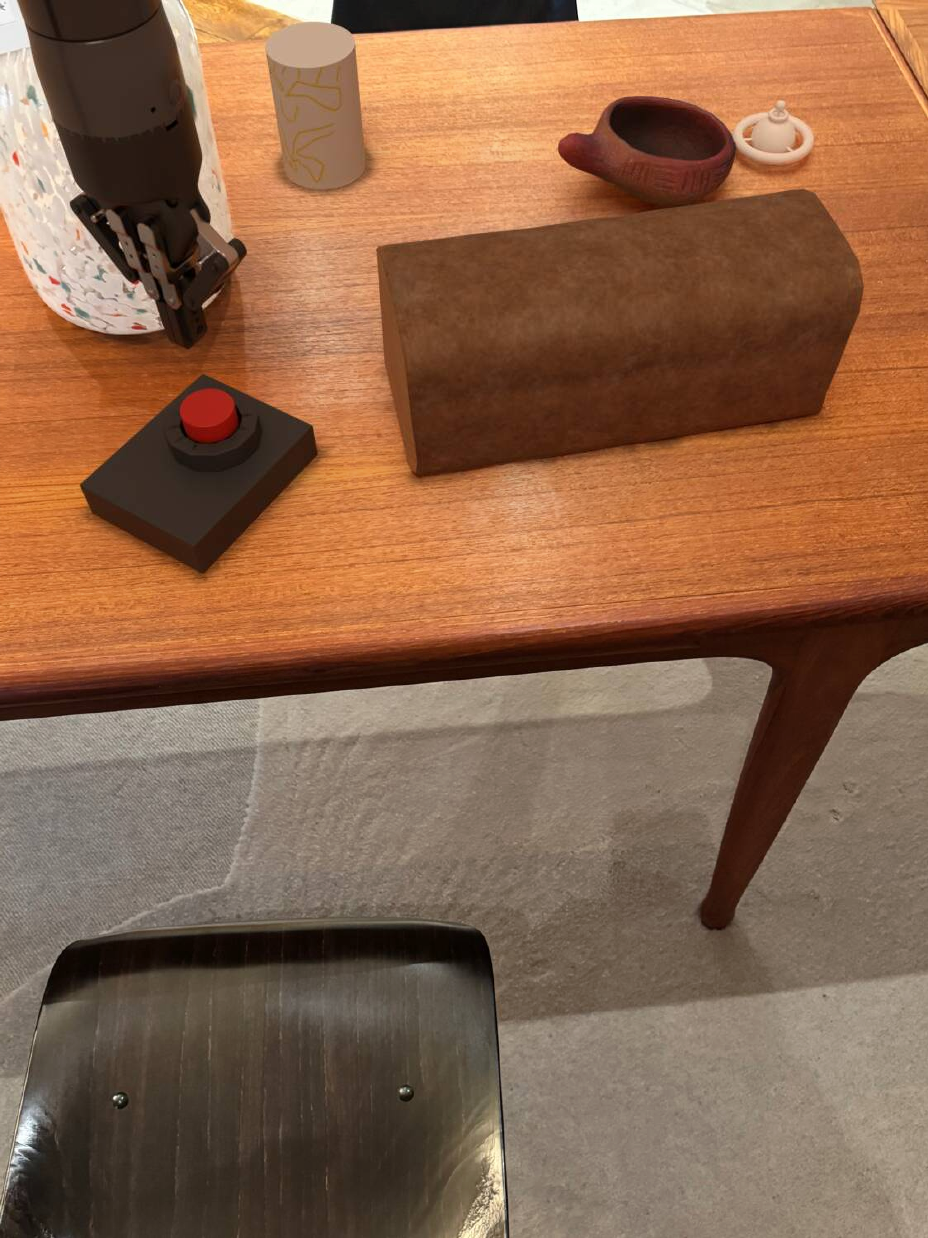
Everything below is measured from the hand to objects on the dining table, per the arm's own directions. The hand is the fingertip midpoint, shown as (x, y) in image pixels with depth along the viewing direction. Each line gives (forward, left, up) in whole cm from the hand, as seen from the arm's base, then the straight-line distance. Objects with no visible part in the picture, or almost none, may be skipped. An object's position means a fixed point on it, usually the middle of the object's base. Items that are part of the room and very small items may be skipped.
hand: (189, 338), depth 73 cm
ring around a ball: (+62, -19, -13) cm, 66 cm away
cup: (+37, +18, -13) cm, 43 cm away
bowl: (+49, -12, -13) cm, 52 cm away
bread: (+23, -21, -13) cm, 34 cm away
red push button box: (-2, 0, -13) cm, 13 cm away
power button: (0, 0, -8) cm, 8 cm away
